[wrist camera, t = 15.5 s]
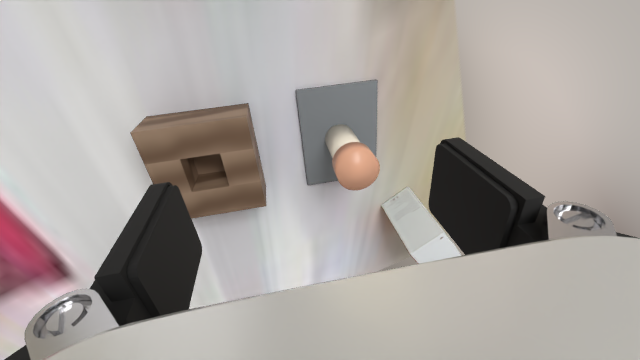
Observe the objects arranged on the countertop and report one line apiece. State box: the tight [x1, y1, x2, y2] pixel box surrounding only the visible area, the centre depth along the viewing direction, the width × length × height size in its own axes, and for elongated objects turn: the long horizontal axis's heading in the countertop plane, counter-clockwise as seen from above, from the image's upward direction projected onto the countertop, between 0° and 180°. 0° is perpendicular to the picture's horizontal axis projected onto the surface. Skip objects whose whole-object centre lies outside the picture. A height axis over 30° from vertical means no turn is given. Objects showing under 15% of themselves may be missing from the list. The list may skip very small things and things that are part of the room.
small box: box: [381, 187, 462, 264], centre depth 52 cm, size 8×6×13 cm
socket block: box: [131, 103, 266, 218], centre depth 43 cm, size 14×14×6 cm
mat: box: [296, 80, 377, 185], centre depth 47 cm, size 16×12×1 cm
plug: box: [325, 124, 380, 190], centre depth 42 cm, size 6×6×11 cm
